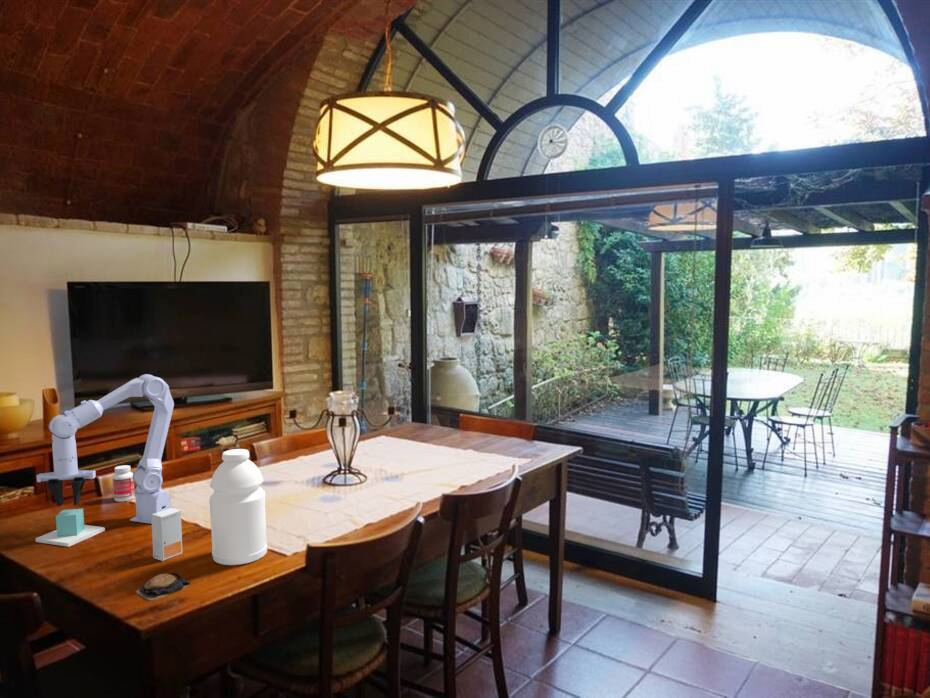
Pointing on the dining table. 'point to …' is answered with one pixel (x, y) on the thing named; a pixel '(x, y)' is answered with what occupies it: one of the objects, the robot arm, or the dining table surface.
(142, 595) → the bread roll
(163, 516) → the skincare box
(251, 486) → the bottle
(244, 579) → the dining table surface
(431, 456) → the dining table surface
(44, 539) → the post base
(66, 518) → the teal toy cube
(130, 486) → the pill bottle
